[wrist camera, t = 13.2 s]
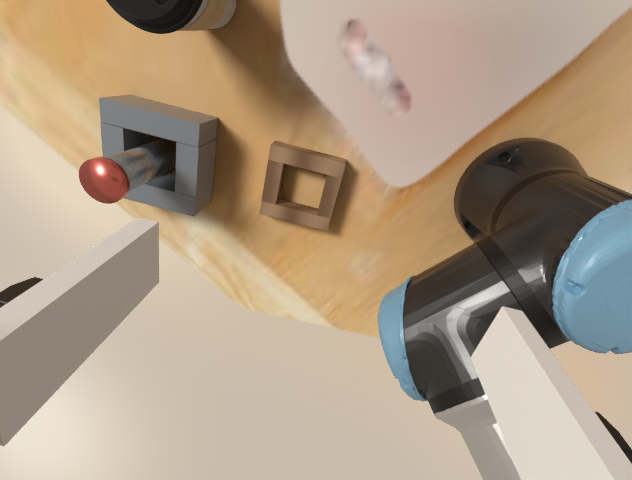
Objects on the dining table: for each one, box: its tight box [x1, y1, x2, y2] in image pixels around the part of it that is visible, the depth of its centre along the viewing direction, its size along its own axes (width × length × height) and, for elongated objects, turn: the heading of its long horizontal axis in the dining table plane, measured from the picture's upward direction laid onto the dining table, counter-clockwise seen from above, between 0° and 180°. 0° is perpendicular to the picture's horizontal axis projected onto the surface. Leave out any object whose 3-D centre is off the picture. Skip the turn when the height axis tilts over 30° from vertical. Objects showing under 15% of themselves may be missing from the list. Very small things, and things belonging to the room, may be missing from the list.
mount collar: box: [260, 141, 346, 231], centre depth 46 cm, size 10×10×2 cm
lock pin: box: [79, 138, 176, 204], centre depth 40 cm, size 5×5×15 cm
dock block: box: [99, 95, 218, 216], centre depth 44 cm, size 12×12×6 cm
